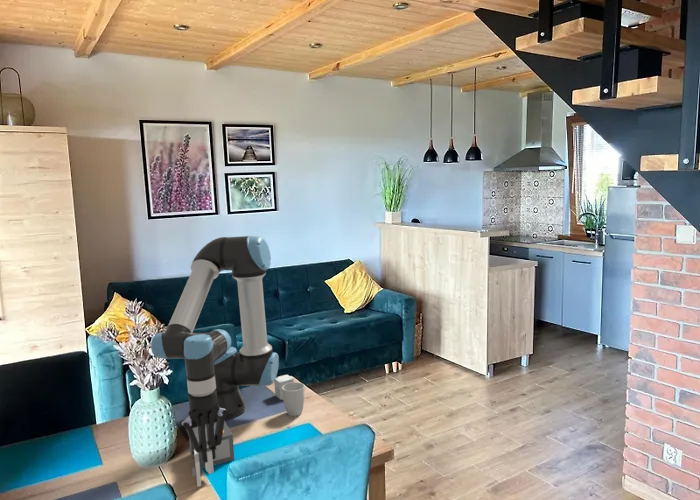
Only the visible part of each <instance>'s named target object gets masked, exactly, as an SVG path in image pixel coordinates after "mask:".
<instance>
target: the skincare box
mask: <svg viewBox="0 0 700 500" xmlns="http://www.w3.org/2000/svg"><path fill="white" fill-rule="evenodd" d="M294 380H295V379H294V378H293V377H292V376H290V375H289V374H283V375H280V376H276V378H275V380H274V382H273V384H274V395H275V397H276V398H278V399H279V400H280V401H284V400H283V393H282V386H283V385H285V384H288V383H293V382H294Z"/></svg>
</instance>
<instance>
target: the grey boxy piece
mask: <svg viewBox="0 0 700 500" xmlns="http://www.w3.org/2000/svg"><path fill="white" fill-rule="evenodd" d="M216 423H217V421H215V422H214V436H215V430H216ZM192 429H193V431H194V434H195V436H196V439H197V442H198V444H199V436H198V427H197V426H195V427H192ZM205 434H206V444H207V447H209V446H208V439H207V427H206V424H205ZM188 439H189V441H188V442H189V449H190V454H191V456H194V448H193V446H192V443H191V441H190V438H189V437H188ZM199 446H200V445H199ZM215 455H216V458H215V459H214V460H213V466H215V465H221V464H225V463H228V462H231V461H235V448H234V436H233V433H232V431H231V429H230V427H229V426H228V424H227V422H226V421H224V428H223V434H222V441H221V444H220V445H217V446H216V450H215ZM199 459H200V470H202V469H206V466H205V463H204V462H203V461H202V459H201V452H199Z"/></svg>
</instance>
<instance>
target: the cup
mask: <svg viewBox="0 0 700 500" xmlns="http://www.w3.org/2000/svg"><path fill="white" fill-rule="evenodd" d="M305 389H306V388H305V384H304V383H303V382H302V383H301V382H299V381H298V382H297V381H295V382H293V383H288V384H285V385H283V386H282V393H283V400H282V401H283V404H284V407H285V411H286V413H287V415H288V416H289V417H297V416H300V415H302V414H303V410H304V406H305Z"/></svg>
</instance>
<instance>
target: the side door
mask: <svg viewBox="0 0 700 500" xmlns="http://www.w3.org/2000/svg"><path fill="white" fill-rule="evenodd" d="M193 456H194V467H192V468H191V472H192V477H195V478H196V485H197V486H196V487H201V486H202V479H201V478H202V477H201V468H200V459H199V453H197V452H196V451H195V450H194V455H193Z"/></svg>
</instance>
